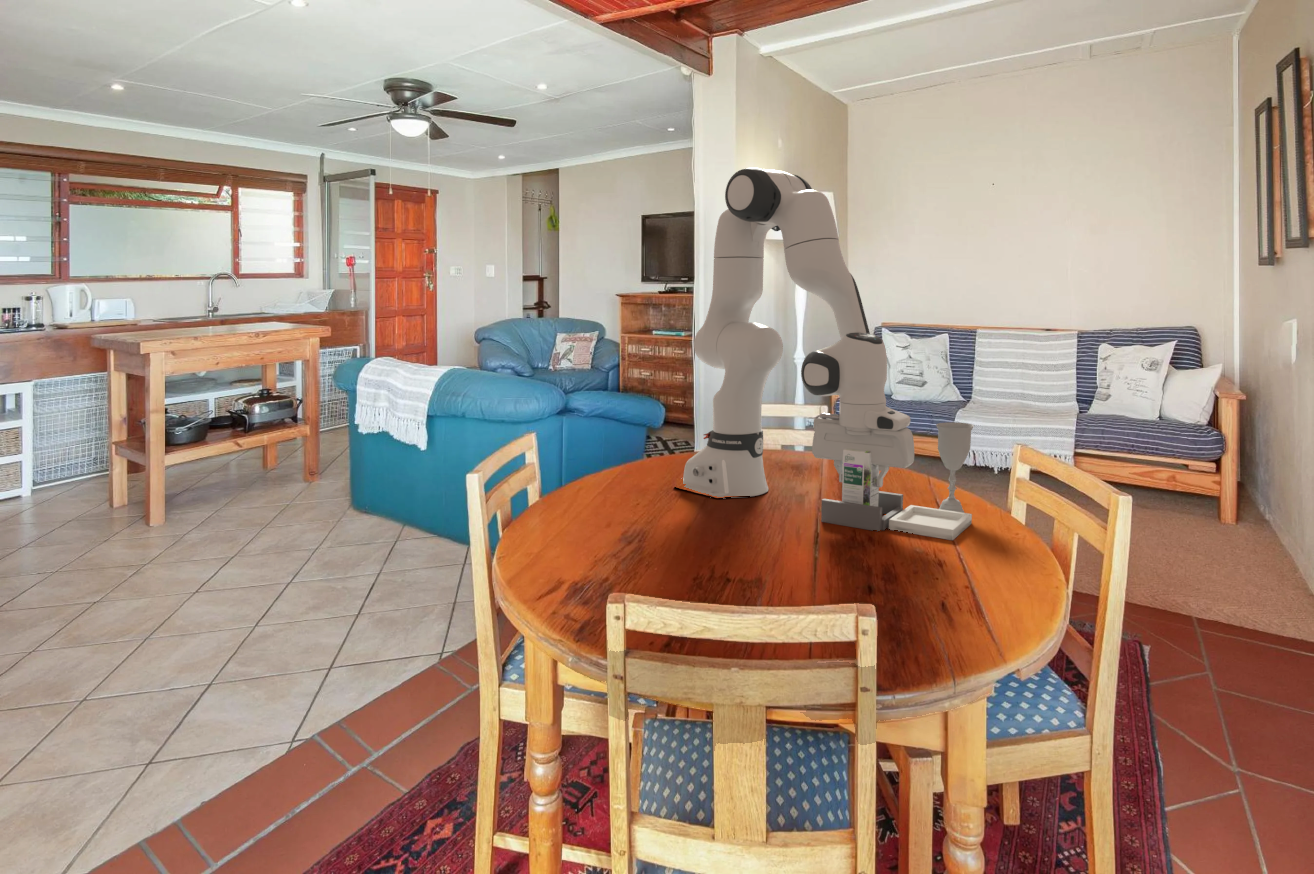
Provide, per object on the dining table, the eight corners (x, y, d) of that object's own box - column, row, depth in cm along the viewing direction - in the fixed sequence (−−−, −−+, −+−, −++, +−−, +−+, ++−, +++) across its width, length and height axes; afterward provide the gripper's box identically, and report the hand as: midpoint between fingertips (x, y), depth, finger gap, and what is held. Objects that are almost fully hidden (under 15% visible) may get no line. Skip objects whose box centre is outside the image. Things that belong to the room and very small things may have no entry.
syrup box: (840, 519, 154) (841, 449, 151) (852, 512, 158) (854, 444, 156) (867, 524, 150) (869, 452, 148) (879, 516, 155) (881, 447, 152)
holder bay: (821, 521, 153) (821, 499, 152) (846, 507, 162) (847, 486, 162) (881, 532, 145) (882, 509, 144) (904, 516, 155) (905, 494, 154)
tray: (888, 529, 147) (888, 519, 146) (910, 514, 156) (910, 504, 156) (952, 540, 140) (953, 529, 139) (971, 523, 149) (971, 513, 148)
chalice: (961, 505, 161) (965, 421, 158) (975, 514, 154) (980, 427, 151) (927, 507, 161) (930, 423, 158) (940, 516, 154) (943, 428, 151)
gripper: (806, 414, 154) (806, 480, 157) (907, 422, 142) (904, 494, 145) (820, 410, 159) (819, 474, 162) (918, 417, 147) (916, 487, 149)
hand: (860, 484), depth 153 cm, fingers closed on syrup box, 6 cm apart
